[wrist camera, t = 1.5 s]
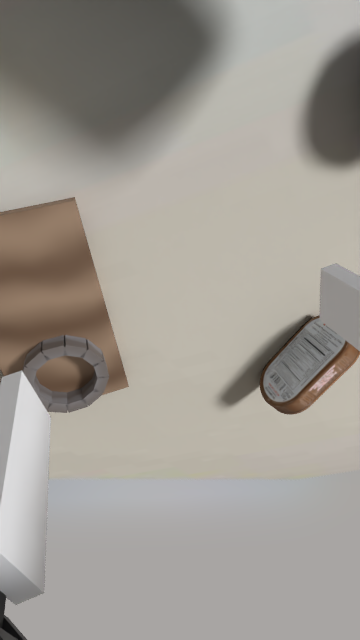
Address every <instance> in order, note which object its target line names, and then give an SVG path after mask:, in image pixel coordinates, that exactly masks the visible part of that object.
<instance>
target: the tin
mask: <svg viewBox="0 0 360 640" xmlns="http://www.w3.org/2000/svg"><path fill="white" fill-rule="evenodd" d="M319 318H320V315H319V316H316V317H314V318H312V319H311V320H309V321H308V322H307V323H306V324H305V325H304V326H303V327H302V328H301V329H300V330H299V331H298V332H297V333H296V334H295V335H294V336H293V337H292V338H291V339H290V340H289V341H288V342H287V343H286V344H285V345H284V347H283V348H282V349H281V350H280V351H279V352H278V353H277V354H276V355H275V356H274V357H273V358H272V359H271V360H270V361H269V363H268V364H267V365H266V366H265V368H264V370H263V372H262V375H261V379H260V390H261V393H262V396H263V398H264V399H265V401H266V402H267V403H268V404H270V405H271V406H273V407H274V408H275V409H276V410H278V411H279V412H281V413H284V414H297V413H300V412H302V411H304V410H306V409H307V408H309V407H310V406H311V405H312V404H313V403H314V402H315V401H316V400H317V399H318V398H319V397H320V396H321V395H322V394H323V393H324V392H325V391H326V390H327V389H328V388H329V387H330V386H331V385H332V384H333V383H335V382H336V381H337V380H338V379H339V378H340V377H341V376H342V375H343V374H344V373H345V372H346V371H347V370H348V369H349V368H350V367H351V366H352V365H353V364H354V363H355V362H356V360H357V359H358V357H359V355H360V351H359V350H357V349H356V348H355V347H354V346H352V345H351V344H350V343H348V342H347V341H346V340H345V339H343V338H342V337H341V336H340V335H338V334H337V333H336V332H334V331H333V330H332V329H331V328H329V327H328V326H327V325H326V324H324V323H323V322H322V321H321V320H319Z"/></svg>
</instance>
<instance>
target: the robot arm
mask: <svg viewBox="0 0 360 640" xmlns="http://www.w3.org/2000/svg"><path fill="white" fill-rule="evenodd" d="M319 320H321V321H322V322H323V323H324V324H326V325H327V326H328V327H329V328H331V329H332V330H333V331H334V332H336V333H337V334H338V335H340V336H341V337H342V338H343V339H345V340H346V341H347V342H348V343H350V344H351V345H352V346H354V347H355V348H356V349H357V350H359V351H360V276H359V275H357V274H355V273H353V272H351V271H350V270H348V269H346V268H344V267H342V266H340V265H338V264H333V265H330V266H327V267H324V268H321V282H320V318H319ZM50 425H51V417H50V415H49V413H48V412H47V410H46V409H45V407H44V405H43V404H42V402H41V400H40V399H39V397H38V396H37V394H36V392H35V391H34V389H33V387H32V386H31V384H30V383H29V381H28V379H27V378H26V376H25V375H24V373H23V371H22V370H21V371H19V372H16V373H13V374H10V375H7V376H4V377H2V379H1V384H0V640H27V639H26V638H25V637H24V636H23V634H22V633H21V632H20V631H19V630H18V629H17V628H16V626H15V625H14V624H13V623H12V622H11V621H10V620H9V618H8V617H6V616H5V615H4V610H5V600H6V598H8V599H9V600H10V601H11V602H13V603H14V604H15V605H17V604H19V603H22V602H24V601H26V600H29V599H31V598H33V597H36V596H38V595H40V594H43V593H44V583H45V582H44V581H45V556H46V530H47V501H48V477H49V451H50Z"/></svg>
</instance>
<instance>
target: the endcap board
mask: <svg viewBox="0 0 360 640" xmlns="http://www.w3.org/2000/svg"><path fill="white" fill-rule="evenodd" d="M0 369H1V371H2V373H3V375H4V376H7V375H10V374H13V373H16V372H19V371H21V370H22V371H23V373H24V375H25V376H26V378H27V379H28V381H29V383H30V384H31V386H32V387H33V389H34V391H35V392H36V394H37V396H38V397H39V399H40V400H41V402H42V404H43V405H44V407H45V409H46V410H47V412H62V413H67V411H68V412H72V411H75V410H79V409H82V408H85V407H88V406H87V405H89V406H90V405H91V404H92V403H93V402H94V401H95V400H96V399H98V398H99V397H100V396H101V395H104V394H107V393H110V392H113V391H117V390H120V389H123V388H126V387H129V386H128V382H127V378H126V375H125V371H124V368H123V365H122V361H121V358H120V354H119V351H118V347H117V344H116V340H115V337H114V333H113V330H112V326H111V323H110V319H109V316H108V312H107V309H106V305H105V302H104V298H103V295H102V291H101V288H100V284H99V281H98V277H97V274H96V270H95V267H94V264H93V260H92V257H91V253H90V250H89V246H88V243H87V239H86V236H85V232H84V229H83V225H82V222H81V218H80V215H79V211H78V208H77V204H76V201H75V197H74V198H69V199H64V200H59V201H54V202H49V203H44V204H39V205H34V206H29V207H24V208H19V209H14V210H9V211H4V212H0Z"/></svg>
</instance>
